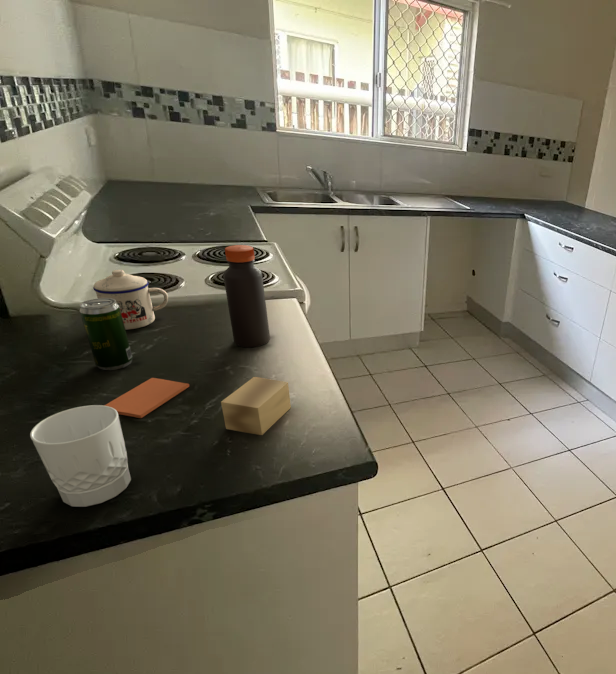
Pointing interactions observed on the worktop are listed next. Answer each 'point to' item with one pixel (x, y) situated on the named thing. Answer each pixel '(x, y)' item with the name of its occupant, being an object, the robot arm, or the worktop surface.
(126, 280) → the teacup with lid
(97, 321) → the beer can
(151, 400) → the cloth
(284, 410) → the beech block
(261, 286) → the bottle
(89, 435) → the white cup
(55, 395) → the worktop surface
